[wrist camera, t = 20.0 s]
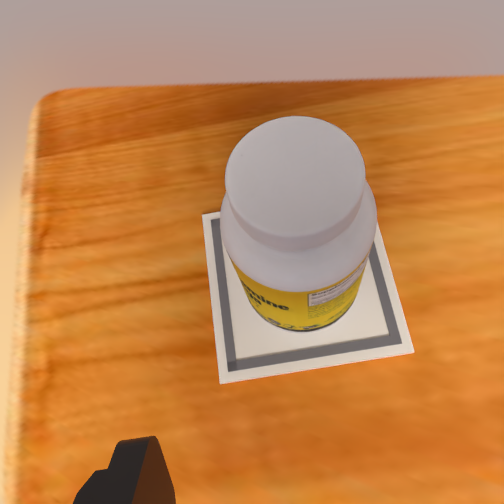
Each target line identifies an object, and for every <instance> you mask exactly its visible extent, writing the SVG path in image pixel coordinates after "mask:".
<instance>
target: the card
mask: <svg viewBox="0 0 504 504" xmlns="http://www.w3.org/2000/svg"><path fill="white" fill-rule="evenodd" d="M220 212H221V211H220ZM220 212H215V213H209V214H204V215H202V220H203V229H204V238H205V248H206V257H207V267H208V276H209V285H210V295H211V304H212V314H213V323H214V333H215V342H216V351H217V361H218V370H219V380H220V384H226V383H232V382H238V381H244V380H250V379H257V378H263V377H269V376H275V375H281V374H287V373H294V372H300V371H306V370H312V369H318V368H324V367H331V366H337V365H343V364H349V363H355V362H361V361H368V360H374V359H380V358H386V357H392V356H399V355H405V354H411V353H414V348H413V345H412V341H411V338H410V334H409V331H408V327H407V324H406V320H405V317H404V313H403V310H402V306H401V303H400V299H399V296H398V292H397V289H396V285H395V282H394V278H393V275H392V271H391V268H390V264H389V261H388V257H387V254H386V250H385V247H384V243H383V240H382V236H381V233H380V229H379V226H378V222H377V226H376V232H375V237H374V241H373V244H372V247H371V250H370V254H369V257H368V260H367V263H366V267H365V270H364V273H363V277H362V280H361V283H360V287H359V291H358V293H357V296H356V298H355V300H354V303H353V304H352V306H351V308H350V309H349V311H348V312H347V313H346V314H345V315H344V316H343V317H342V318H341V319H340V320H339V321H338V322H336V323H335V324H333V325H332V326H330V327H328V328H325V329H323V330H320V331H316V332H312V333H305V334H299V333H291V332H286V331H283V330H280V329H277V328H275V327H274V326H272V325H270V324H269V323H267V322H266V321H265V320H263V319H262V318H261V317H260V316H259V315H258V314H257V312H256V311H255V310H254V308H253V307H252V305H251V304H250V302H249V300H248V298H247V296H246V293H245V291H244V289H243V286H242V284H241V282H240V279H239V277H238V275H237V273H236V271H235V269H234V267H233V264H232V262H231V260H230V257H229V255H228V253H227V251H226V248H225V246H224V242H223V239H222V234H221V229H220Z"/></svg>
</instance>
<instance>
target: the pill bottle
mask: <svg viewBox="0 0 504 504" xmlns="http://www.w3.org/2000/svg"><path fill="white" fill-rule="evenodd" d="M225 187H226V193H225V196H224V199H223V202H222V206H221V212H220V229H221V234H222V239H223V242H224V246H225V248H226V251H227V253H228V255H229V257H230V260H231V262H232V264H233V267H234V269H235V271H236V273H237V275H238V277H239V279H240V282H241V284H242V286H243V289H244V291H245V293H246V296H247V298H248V300H249V302H250V304H251V305H252V307H253V308H254V310H255V311H256V312H257V314H258V315H259V316H260V317H261V318H262V319H263V320H265V321H266V322H267V323H269V324H270V325H272V326H274V327H275V328H277V329H280V330H283V331H286V332H291V333H299V334H305V333H312V332H316V331H320V330H323V329H325V328H328V327H330V326H332V325H333V324H335V323H336V322H338V321H339V320H340V319H341V318H342V317H343V316H344V315H345V314H346V313H347V312H348V311H349V309H350V308H351V306H352V304H353V303H354V300H355V298H356V296H357V293H358V291H359V287H360V283H361V280H362V277H363V273H364V270H365V267H366V263H367V260H368V257H369V254H370V250H371V247H372V244H373V241H374V237H375V232H376V226H377V208H376V203H375V199H374V196H373V193H372V191H371V188H370V186H369V184H368V183H367V181H366V180H365V165H364V161H363V158H362V155H361V153H360V151H359V149H358V147H357V145H356V144H355V143H354V141H353V140H352V139H351V138H350V137H349V136H348V135H347V134H346V133H345V132H344V131H342V130H341V129H340V128H338V127H336V126H335V125H333V124H331V123H329V122H326V121H324V120H321V119H317V118H312V117H307V116H289V117H282V118H277V119H274V120H271V121H268V122H265V123H263V124H262V125H260V126H258V127H256V128H254V129H253V130H251V131H250V132H249V133H248V134H246V135H245V136H244V137H243V138H242V139H241V140H240V141H239V143H238V144H237V145H236V147H235V148H234V150H233V151H232V153H231V155H230V157H229V160H228V163H227V166H226V171H225Z"/></svg>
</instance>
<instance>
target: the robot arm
mask: <svg viewBox="0 0 504 504" xmlns="http://www.w3.org/2000/svg"><path fill="white" fill-rule="evenodd" d="M73 504H176V500H175V492H174V487H173V484H172V481H171V478H170V475H169V472H168V469H167V466H166V463H165V460H164V456H163V453H162V450H161V447H160V444H159V441H158V439H157V438H156V437H155V436H149V437H143V438H136V439H129V440H122V441H119V442H118V444H117V445H116V447H115V450H114V453H113V456H112V458H111V461H110V464H109V467H108V469H104V470H97V471H95V472H94V473H93V474H92V476H91V477H90V478H89V479H88V481H87V482H86V483H85V484H84V485H83V487H82V488H81V489H80V490H79V492H78V493H77V495H76V497H75V499H74V502H73Z"/></svg>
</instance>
